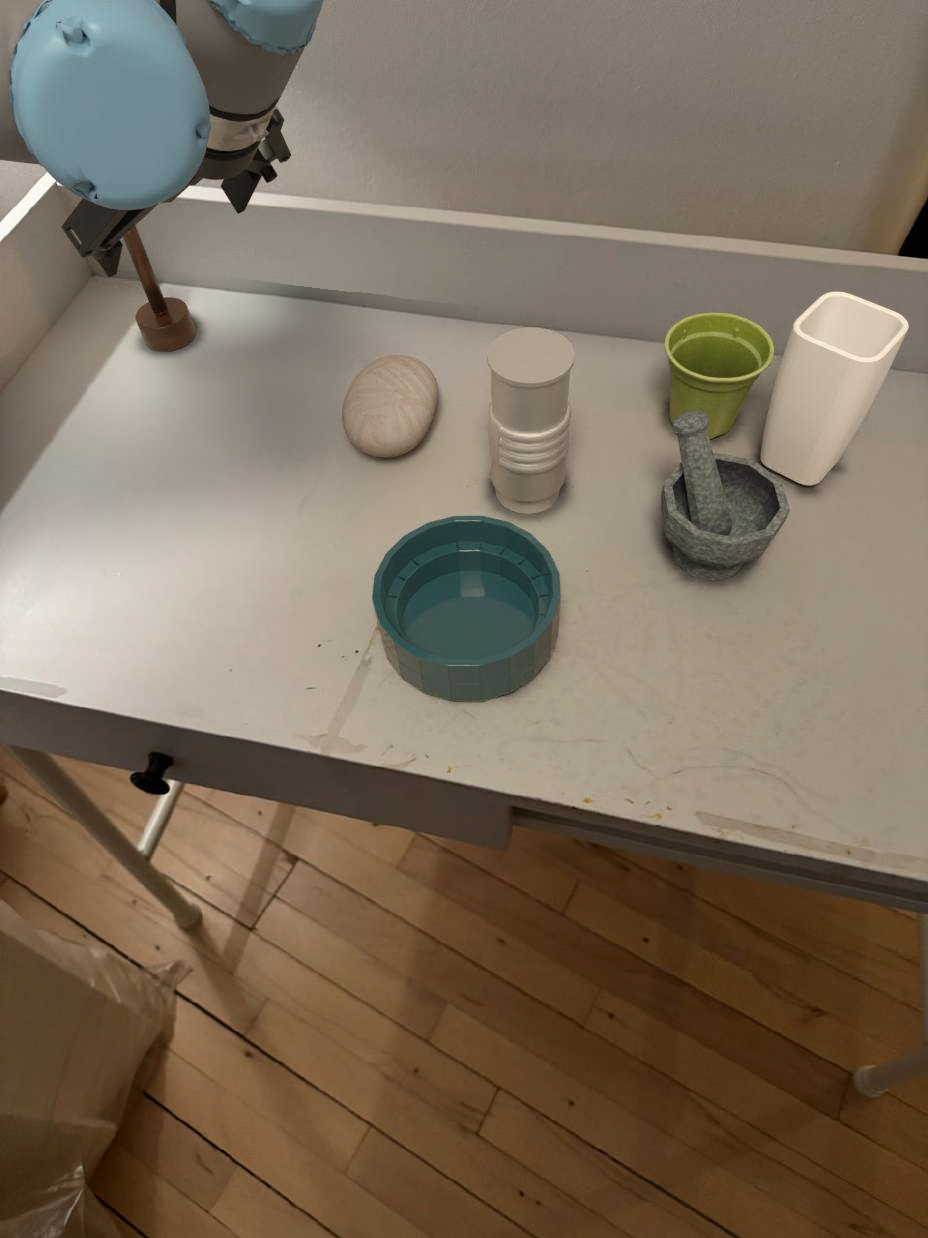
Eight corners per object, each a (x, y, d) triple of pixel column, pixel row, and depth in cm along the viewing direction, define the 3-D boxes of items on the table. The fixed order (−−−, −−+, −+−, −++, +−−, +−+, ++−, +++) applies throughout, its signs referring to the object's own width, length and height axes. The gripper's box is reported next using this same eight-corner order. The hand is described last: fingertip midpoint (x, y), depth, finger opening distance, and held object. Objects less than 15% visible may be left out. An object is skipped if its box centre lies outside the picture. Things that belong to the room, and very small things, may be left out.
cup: (853, 458, 77) (917, 319, 65) (813, 503, 74) (873, 366, 62) (782, 424, 80) (831, 285, 68) (741, 466, 77) (785, 328, 65)
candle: (476, 479, 77) (469, 344, 65) (541, 453, 79) (546, 316, 67) (512, 528, 74) (512, 395, 61) (579, 500, 75) (592, 364, 63)
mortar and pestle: (790, 561, 70) (836, 458, 60) (710, 616, 68) (744, 517, 58) (696, 485, 76) (723, 379, 66) (618, 532, 73) (634, 429, 63)
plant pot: (743, 462, 77) (766, 387, 70) (642, 442, 79) (655, 368, 72) (757, 397, 82) (780, 321, 75) (662, 380, 84) (676, 305, 77)
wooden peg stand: (139, 352, 91) (80, 217, 78) (151, 320, 94) (96, 185, 81) (190, 351, 90) (138, 215, 78) (200, 319, 94) (152, 183, 81)
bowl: (375, 706, 64) (364, 666, 59) (389, 562, 72) (380, 516, 67) (560, 706, 63) (564, 665, 59) (553, 561, 72) (556, 514, 67)
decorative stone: (369, 377, 86) (362, 337, 82) (453, 388, 85) (450, 347, 81) (330, 464, 79) (320, 424, 75) (420, 477, 78) (415, 437, 74)
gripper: (82, 228, 52) (72, 330, 71) (385, 87, 61) (304, 211, 80) (2, 111, 50) (13, 248, 69) (327, -17, 59) (258, 136, 78)
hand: (169, 229), depth 75 cm, fingers open, 13 cm apart
